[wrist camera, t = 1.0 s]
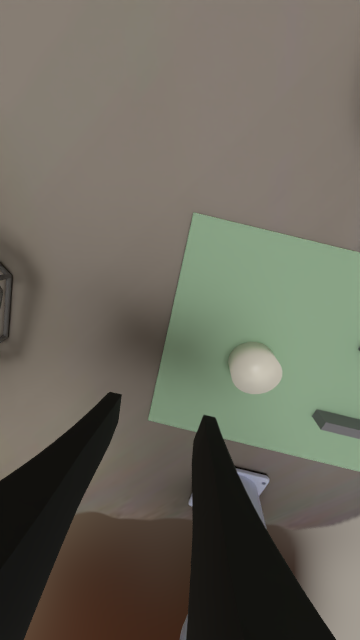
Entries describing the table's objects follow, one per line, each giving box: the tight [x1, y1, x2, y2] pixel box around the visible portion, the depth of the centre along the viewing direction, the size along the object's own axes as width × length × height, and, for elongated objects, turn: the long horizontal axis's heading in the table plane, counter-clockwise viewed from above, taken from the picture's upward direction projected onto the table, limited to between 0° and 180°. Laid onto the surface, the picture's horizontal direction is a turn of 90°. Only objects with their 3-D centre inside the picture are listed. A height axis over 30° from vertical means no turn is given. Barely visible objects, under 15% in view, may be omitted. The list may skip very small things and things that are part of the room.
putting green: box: [148, 213, 360, 472], centre depth 18 cm, size 21×26×1 cm
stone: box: [228, 342, 282, 394], centre depth 16 cm, size 4×4×2 cm
